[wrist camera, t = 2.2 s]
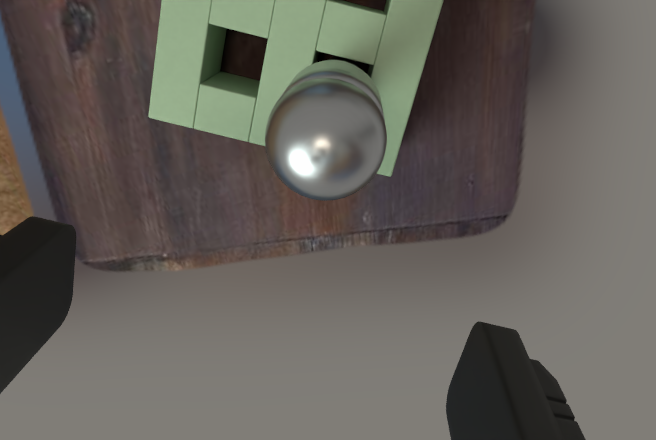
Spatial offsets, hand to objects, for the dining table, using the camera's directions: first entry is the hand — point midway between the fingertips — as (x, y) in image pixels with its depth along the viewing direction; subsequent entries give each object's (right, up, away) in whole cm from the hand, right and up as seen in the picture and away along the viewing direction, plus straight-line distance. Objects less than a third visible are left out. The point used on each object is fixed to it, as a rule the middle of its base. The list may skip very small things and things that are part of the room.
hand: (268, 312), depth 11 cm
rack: (0, +14, +23) cm, 27 cm away
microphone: (+2, +11, +24) cm, 27 cm away
